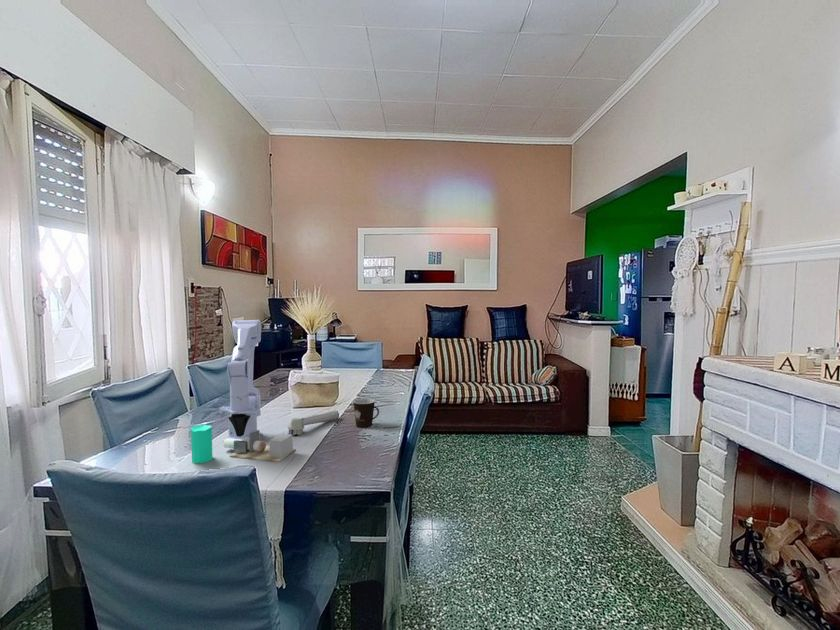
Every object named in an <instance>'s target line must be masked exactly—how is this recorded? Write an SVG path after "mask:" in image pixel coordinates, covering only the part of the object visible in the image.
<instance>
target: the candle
mask: <svg viewBox="0 0 840 630" xmlns="http://www.w3.org/2000/svg"><path fill="white" fill-rule="evenodd" d="M190 436H191V438H190V439H191V440H190V441H191V444H190V445H191V463H192V464H203V463H207V462H210V461H212V460H213V457H214V456H213V429H212V425H208V424H202V422H200V424H198V425H195V426H193V427H190Z"/></svg>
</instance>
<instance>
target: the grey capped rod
mask: <svg viewBox="0 0 840 630" xmlns="http://www.w3.org/2000/svg"><path fill="white" fill-rule="evenodd" d="M339 418H340V413H339V411H338V410H327V411H325V412H321V413H316V414H312V415H308V416H304V417H293V418H292V419H291V421H290V425H289V426H287V430H288V432H287V434H290V435H292V436H295V435H297V436H301V435H302V434H303V432H304V429H305V426H309V425H314V424H320V423H325V422H333V421H336V420H338V419H339ZM300 434H301V435H300Z"/></svg>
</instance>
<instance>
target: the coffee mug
mask: <svg viewBox="0 0 840 630" xmlns="http://www.w3.org/2000/svg"><path fill="white" fill-rule="evenodd" d="M352 403H353V411H354V418H355V420H354V421H355V426H356V428H359V429H368V428H371V427H373V422H374V419H376V418H377V417H378V416H379V414H380V410H379V408H378V406H375V403H376V402H375V399H373V398H366V397H365V398H357V399H355V400H353V401H352ZM375 410H376V411H377V414H376V415H375V416H374V411H375Z"/></svg>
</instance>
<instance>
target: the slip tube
mask: <svg viewBox="0 0 840 630" xmlns="http://www.w3.org/2000/svg"><path fill="white" fill-rule="evenodd" d="M260 432H261V431H260V429H257V430H256V431H254V432H252V433H250V434H249V440H244V439H234V438H227V437H226V438H225V439H224V441H223V447H224V448H226V449H233V450H234V441H235V440H238V441H247V443H248V450H250V452H254V451H261V452H263V451H264V450H265V448H266V446H267V442H266V441H264V440H260V439H261V437H260V436H261V434H260Z"/></svg>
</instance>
